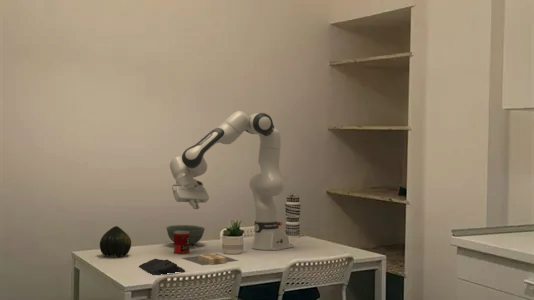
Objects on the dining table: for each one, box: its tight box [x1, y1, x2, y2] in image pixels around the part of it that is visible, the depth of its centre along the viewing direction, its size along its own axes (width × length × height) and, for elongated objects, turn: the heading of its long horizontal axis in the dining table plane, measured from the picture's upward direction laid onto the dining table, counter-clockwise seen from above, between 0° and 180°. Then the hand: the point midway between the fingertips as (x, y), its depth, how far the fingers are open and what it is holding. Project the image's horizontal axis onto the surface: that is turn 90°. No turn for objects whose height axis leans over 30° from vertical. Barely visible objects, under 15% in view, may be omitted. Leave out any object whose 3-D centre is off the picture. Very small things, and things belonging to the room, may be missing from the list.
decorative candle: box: [284, 193, 301, 238], centre depth 378 cm, size 9×9×25 cm
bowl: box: [166, 224, 206, 247], centre depth 342 cm, size 21×21×10 cm
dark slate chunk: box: [138, 258, 186, 276], centre depth 281 cm, size 15×22×5 cm
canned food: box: [173, 231, 190, 255], centre depth 319 cm, size 8×8×11 cm
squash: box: [99, 225, 132, 258], centre depth 311 cm, size 14×15×15 cm
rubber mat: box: [181, 253, 240, 266], centre depth 303 cm, size 20×20×1 cm
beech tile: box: [197, 253, 228, 266], centre depth 298 cm, size 8×2×12 cm
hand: (196, 208), depth 312 cm, fingers closed
